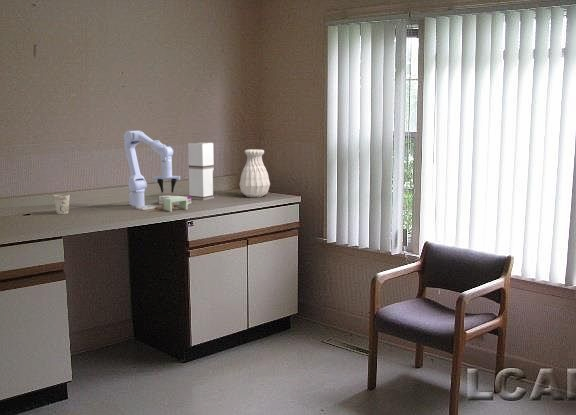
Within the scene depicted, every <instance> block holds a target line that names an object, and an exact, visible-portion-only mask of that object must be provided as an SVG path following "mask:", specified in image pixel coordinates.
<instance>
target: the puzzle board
mask: <svg viewBox="0 0 576 415" xmlns="http://www.w3.org/2000/svg"><path fill="white" fill-rule="evenodd" d="M154 206H155V207H156V208H155V209H151V210H140V209H136V207H133V210H138V211H140V212H146V213H150V214H163V213H171V212H178V211H187V210H189V208H188V209H187V210H186V209H182V208H180V205H173V209H172V211H168V210H164V209H163V208H162V204H158V205H154Z"/></svg>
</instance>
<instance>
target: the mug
mask: <svg viewBox="0 0 576 415" xmlns="http://www.w3.org/2000/svg"><path fill="white" fill-rule="evenodd" d="M70 196H71V195H70V194H69V193H58V194H54V195H53V199H54V201H53V202H54V207H55V211H56V214H57V215H66V214H69V211H70V210H69V209H70V200H71V199H70Z"/></svg>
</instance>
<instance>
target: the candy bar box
mask: <svg viewBox="0 0 576 415" xmlns="http://www.w3.org/2000/svg"><path fill="white" fill-rule="evenodd" d="M178 196H179V195H160V196H158V205H162V200H163V199H164V198H168V197H178ZM181 196H182V197H187V201H188V205H189V204H192V199H191V196H189V195H188V196H187V195H181ZM174 205H175V206H180V201H177V202H173V206H174Z"/></svg>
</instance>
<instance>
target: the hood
mask: <svg viewBox="0 0 576 415" xmlns="http://www.w3.org/2000/svg"><path fill="white" fill-rule="evenodd" d="M177 196H178V197H168V198H164V210H168V211H172V202H177V201H180V205H179V207H180V208H182V209H186V210H185V211H187V209H188V210H189V208H188V206H189V204H188V201H187V197H182V196H183V195H177ZM172 212H173V211H172Z"/></svg>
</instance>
